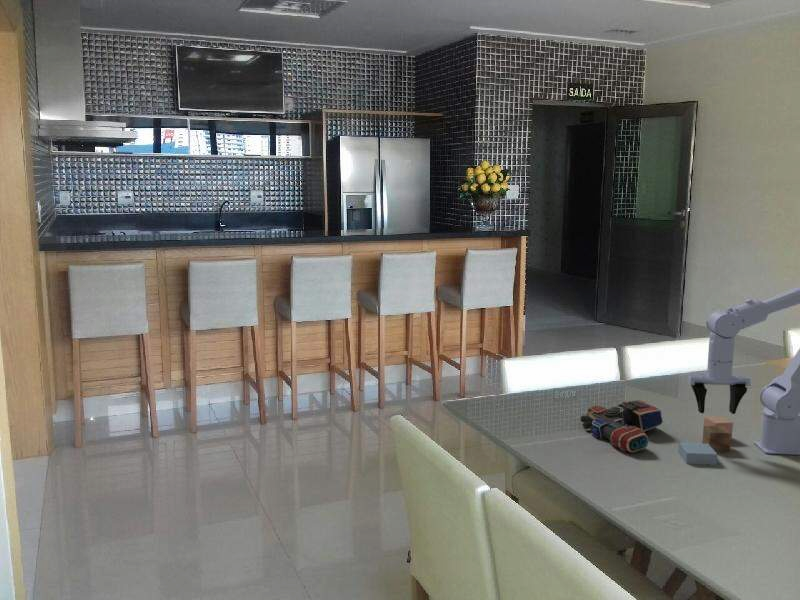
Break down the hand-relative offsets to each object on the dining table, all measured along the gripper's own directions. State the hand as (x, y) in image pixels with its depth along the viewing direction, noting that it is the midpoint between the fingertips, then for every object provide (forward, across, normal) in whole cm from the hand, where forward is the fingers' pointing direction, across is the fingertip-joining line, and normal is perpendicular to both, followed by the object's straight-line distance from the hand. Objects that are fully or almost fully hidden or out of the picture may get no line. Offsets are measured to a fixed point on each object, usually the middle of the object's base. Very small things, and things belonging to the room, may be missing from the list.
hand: (716, 412), depth 179 cm
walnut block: (+10, 0, 0) cm, 10 cm away
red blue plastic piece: (+10, +19, -8) cm, 23 cm away
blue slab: (+10, +7, +8) cm, 14 cm away
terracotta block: (+10, -4, -8) cm, 13 cm away
